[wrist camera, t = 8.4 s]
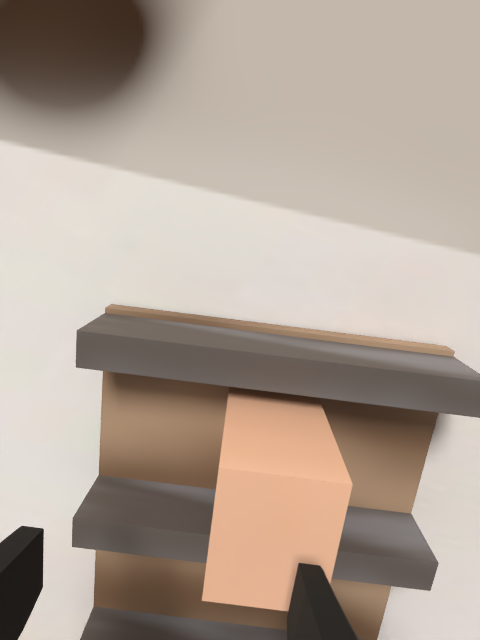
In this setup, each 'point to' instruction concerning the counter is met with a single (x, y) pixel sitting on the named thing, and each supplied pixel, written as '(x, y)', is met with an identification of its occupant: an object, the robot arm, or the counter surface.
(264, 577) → the block
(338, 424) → the rack
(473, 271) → the counter surface
